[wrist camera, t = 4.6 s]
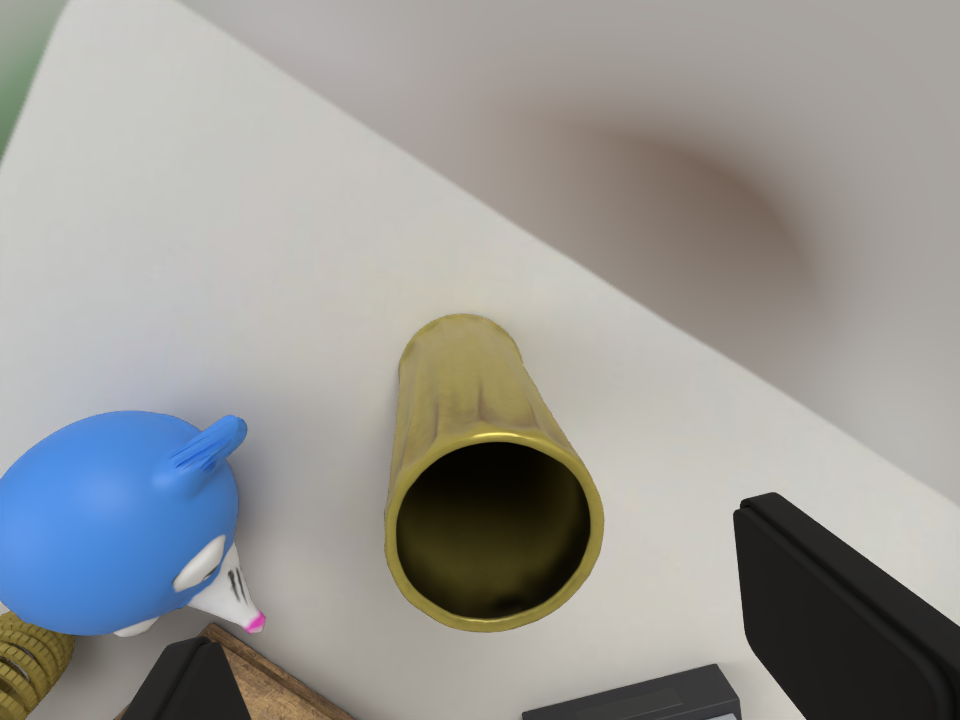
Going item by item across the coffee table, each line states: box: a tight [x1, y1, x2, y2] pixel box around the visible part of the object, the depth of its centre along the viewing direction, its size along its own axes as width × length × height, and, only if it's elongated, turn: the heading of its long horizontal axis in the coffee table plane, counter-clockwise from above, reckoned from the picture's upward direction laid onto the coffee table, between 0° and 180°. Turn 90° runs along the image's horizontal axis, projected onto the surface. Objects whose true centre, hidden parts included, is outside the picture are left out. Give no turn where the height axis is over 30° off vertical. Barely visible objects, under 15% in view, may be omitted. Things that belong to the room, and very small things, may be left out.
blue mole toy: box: [0, 411, 266, 637], centre depth 22 cm, size 12×12×8 cm
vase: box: [384, 314, 604, 633], centre depth 19 cm, size 6×6×14 cm
